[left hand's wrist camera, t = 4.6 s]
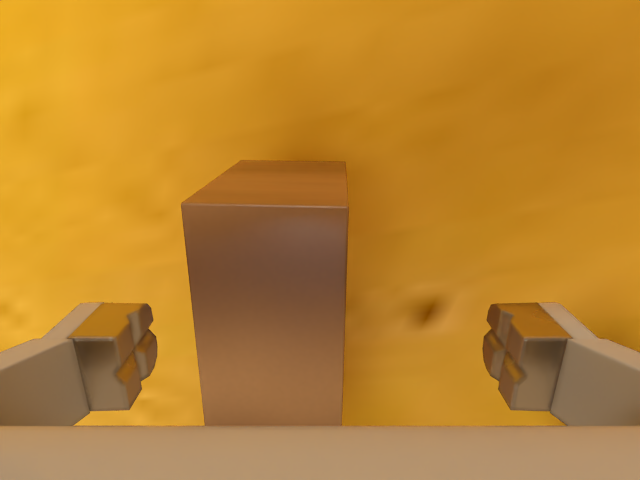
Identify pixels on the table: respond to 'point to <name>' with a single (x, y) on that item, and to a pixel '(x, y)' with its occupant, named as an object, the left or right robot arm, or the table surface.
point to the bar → (270, 292)
